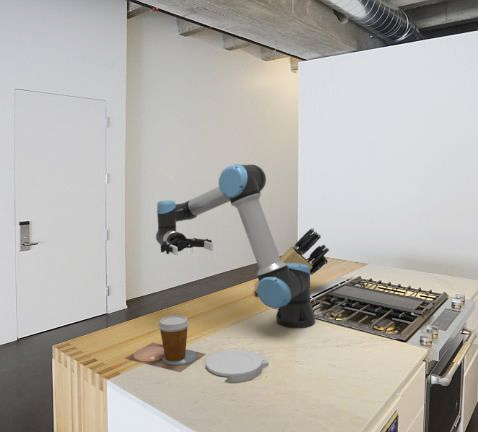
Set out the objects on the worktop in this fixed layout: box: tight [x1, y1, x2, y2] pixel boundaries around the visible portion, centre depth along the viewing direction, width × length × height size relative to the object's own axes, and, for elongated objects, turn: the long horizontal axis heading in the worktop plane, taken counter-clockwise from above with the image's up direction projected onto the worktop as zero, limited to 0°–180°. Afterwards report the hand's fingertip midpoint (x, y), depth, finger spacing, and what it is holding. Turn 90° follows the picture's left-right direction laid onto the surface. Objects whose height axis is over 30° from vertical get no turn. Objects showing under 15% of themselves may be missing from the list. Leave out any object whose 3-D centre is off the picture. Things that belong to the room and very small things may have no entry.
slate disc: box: [162, 349, 197, 366], centre depth 139 cm, size 11×11×1 cm
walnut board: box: [123, 342, 207, 373], centre depth 140 cm, size 22×14×2 cm, turn 61°
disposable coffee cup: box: [157, 315, 190, 361], centre depth 138 cm, size 10×10×12 cm
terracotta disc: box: [133, 346, 165, 362], centre depth 142 cm, size 11×11×1 cm
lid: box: [205, 348, 269, 383], centre depth 134 cm, size 17×20×3 cm
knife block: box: [254, 227, 330, 294], centre depth 210 cm, size 11×35×31 cm, turn 89°
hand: (194, 249), depth 158 cm, fingers open, 13 cm apart
